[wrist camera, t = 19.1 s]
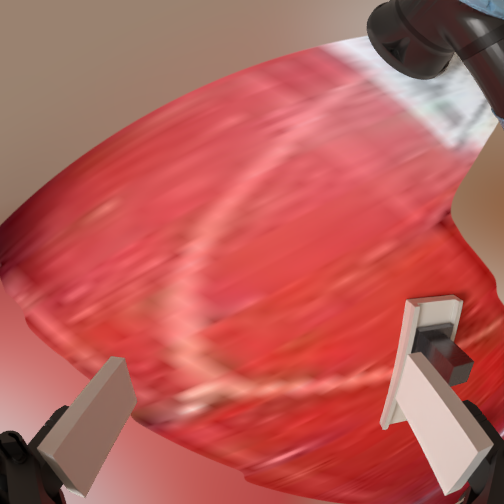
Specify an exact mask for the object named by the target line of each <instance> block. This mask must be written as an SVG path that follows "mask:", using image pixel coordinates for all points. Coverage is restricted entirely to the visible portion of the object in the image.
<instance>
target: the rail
mask: <svg viewBox="0 0 504 504" xmlns="http://www.w3.org/2000/svg"><path fill="white" fill-rule="evenodd" d="M462 305H463V301H462V300H461V299H459V298H458V297H456V296H455V295H445V296H436V297H426V298H415V299H406V304H405V310H404V316H403V323H402V329H401V335H400V340H399V346H398V351H397V356H396V361H395V365H394V370H393V374H392V378H391V383H390V387H389V391H388V394H387V398H386V402H385V406H384V409H383V413H382V416H381V419H380V424H381V427H382V429H383V430H385V429H388V426H389V424H393V423H398V422H402V421H406V420H407V419H406V417H405V415H404V413H403V411H402V410H401V408H400V406H399V404H398V402H397V400H396V399H395V398H396V395H397V392H398V388H399V385H400V381H401V378H402V374H403V370H404V367H405V363H406V359H407V355H408V354H411V350H412V346H413V341H414V337H415V332H416V328H419V327H426V326H433V325H439V324H446V323H450V324H451V325H453V326H454V327H453V331H452V335H451V340H452V341H453V342H454V339H455V335H456V331H457V327H458V323H459V319H460V315H461V310H462Z"/></svg>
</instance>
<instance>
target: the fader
mask: <svg viewBox="0 0 504 504" xmlns="http://www.w3.org/2000/svg"><path fill="white" fill-rule="evenodd" d="M453 327H454V326H453V325H451V324H450V323H446V324H439V325H433V326H426V327H419V328H416V332H415V337H414V341H413V346H412V350H411V354H412V353H417V352H421V353H422V354H423V355H424V356H425V357H426V358H427V360H428V361H429V362H430V363H431V364H432V366H433V367H434V368H435V369H436V370H437V372H438V373H439V374H440V375H441V376H442V378H443V379H444V380H445V381H446V382H447V384H448V385H449V386H450V387H451V386H454V385H457V384H461V383H464V382H467V380H468V377H469V375H470V372H471V369H472V366H473V364H474V361H473V360H472V359H471V358H470V357H469V356H468V355H467V354H466V353H465V352H464V351H462V350H461V349H460V348H459V347H458V346H457V345H456V344H455V343H454V342H453V341H452V340H451V335H452V331H453Z"/></svg>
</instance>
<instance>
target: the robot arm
mask: <svg viewBox="0 0 504 504" xmlns="http://www.w3.org/2000/svg"><path fill="white" fill-rule="evenodd" d="M367 33H368V36H369V39H370V42H371V44H372V45H373V47H374V49H375V50H376V51H377V53H378V54H379V55H380V56H381V57H382V58H383V59H384V60H385V61H386V62H387V63H388V64H389V65H390V66H392V67H393V68H394V69H396V70H397V71H399V72H401V73H403V74H405V75H407V76H409V77H412V78H415V79H421V80H426V79H431V78H434V77H436V76H437V75H439V74H441V73H442V72H443V71H444V70H445V69H446V68H447V66H448V64H449V61H450V60H451V58H452V56H453V54H454V52H456V53H457V54H458V56H459V57H460V58H461V60H462V61H463V63H464V64H465V66H466V67H467V69H468V70H469V72H470V73H471V75H472V76H473V78H474V79H475V81H476V82H477V84H478V85H479V87H480V89H481V90H482V92H483V94H484V95H485V97H486V99H487V101H488V102H489V104H490V106H491V110H492V112H493V114H494V115H495V116H496V117H497V118H498V120H499V122H500V124H501V126H502V128H503V129H504V0H390V1H389V2H386V3H383V4H381V5H379V6H378V7H376V8H375V9H374V11H373V12H372V13H371V15H370V16H369V19H368V21H367ZM395 399H396V400H397V402H398V404H399V406H400V408H401V410H402V411H403V413H404V415H405V417H406V419H407V421H408V422H409V424H410V426H411V428H412V430H413V432H414V434H415V436H416V438H417V440H418V442H419V443H420V445H421V447H422V449H423V451H424V453H425V455H426V457H427V459H428V461H429V463H430V465H431V467H432V469H433V471H434V473H435V476H436V478H437V480H438V482H439V484H440V486H441V488H442V490H443V492H444V495H448V494H450V493H452V492H455V491H457V490H459V489H461V488H462V487H463V485H464V484H465V483H466V482H467V480H468V482H469V484H470V486H469V487H468V488H467V489H466V491H465V492H464V493H463V494H462V495H461V496H460V498H459V500H461V499H462V498H463V497H464V496H465V498H464V501H463V504H504V440H503V439H502V438H501V436H500V435H499V434H498V432H497V431H496V430H495V428H494V427H493V426H492V425H491V423H490V422H489V421H488V420H487V418H486V417H485V416H484V414H483V415H482V412H481V411H480V409H479V408H478V407H477V406H476V405H475V404H473V403H472V402H470V401H469V400H465V401H461V400H460V399H459V397H458V396H457V395H456V394H455V392H454V391H453V390H452V389H451V387H450V386H449V385H448V384H447V382H446V381H445V380H444V379H443V378H442V376H441V375H440V374H439V373H438V372H437V370H436V369H435V368H434V367H433V366H432V364H431V363H430V362H429V361H428V360H427V358H426V357H425V356H424V355H423V354H422V353H421V352H417V353H412V354H408V355H407V359H406V363H405V367H404V370H403V374H402V378H401V381H400V385H399V388H398V392H397V395H396V398H395ZM136 403H137V399H136V396H135V392H134V389H133V386H132V382H131V379H130V376H129V372H128V368H127V365H126V361H125V358H120V357H113V356H111V357H110V358H109V360H108V361H107V362H106V363H105V364H104V365H103V367H102V368H101V369H100V370H99V371H98V373H97V374H96V375H95V376H94V377H93V379H92V380H91V381H90V382H89V384H88V385H87V386H86V387H85V388H84V390H83V391H82V392H81V393H80V394H79V396H78V397H77V398H76V399H75V400H74V402H73V403H72V404H71V406H70V407H69V406H66V405H64V406H63V407H61V408H59V409H58V410H56V411H55V412H54V413H53V415H52V416H51V417H50V420H48V421H47V422H46V423H45V426H43V427H42V428H41V429H40V430H39V432H38V433H37V434H36V435H35V437H34V438H33V439H32V440H31V442H30V443H29V444H28V445H27V444H26V443H25V441H24V439H23V438H22V436H21V435H20V434H19V433H18V432H15V431H6V432H3V433H2V434H0V504H66V501H65V498H64V494H63V492H62V490H61V489H60V488H61V486H62V485H63V484H64V485H65V487H66V488H67V489H68V490H69V491H70V492H72V493H75V494H77V495H79V496H82V497H84V498H85V497H86V495H87V493H88V492H89V490H90V488H91V486H92V484H93V482H94V480H95V478H96V476H97V474H98V473H99V471H100V469H101V467H102V465H103V463H104V461H105V459H106V458H107V456H108V454H109V452H110V450H111V448H112V446H113V445H114V443H115V441H116V439H117V437H118V436H119V433H120V432H121V430H122V428H123V426H124V425H125V423H126V421H127V419H128V417H129V416H130V414H131V412H132V410H133V408H134V407H135V405H136Z"/></svg>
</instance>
